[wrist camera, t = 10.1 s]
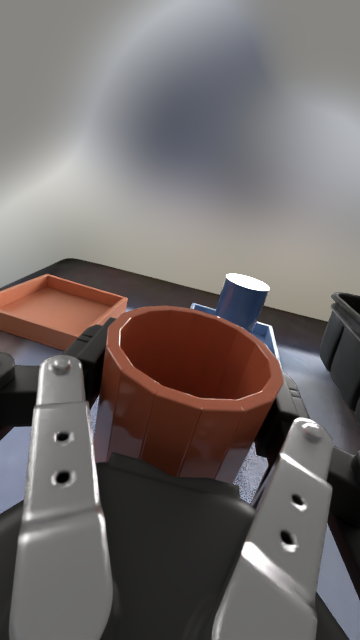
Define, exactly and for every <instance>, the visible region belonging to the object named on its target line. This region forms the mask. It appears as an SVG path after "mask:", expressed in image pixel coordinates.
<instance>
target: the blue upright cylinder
mask: <svg viewBox="0 0 360 640" xmlns="http://www.w3.org/2000/svg"><path fill="white" fill-rule="evenodd" d="M269 290H270V288H269V286H268V285H266V284H265V283H263V282H261V281H259V280H257V279H254V278H251V277H248V276H244V275H239V274H227V275H226V277H225V281H224V284H223V287H222V290H221V294H220V296H219V300H218V303H217V306H216V309H215V312H214V315H215V316H218V317H221V318H223V319H225V320H227V321H229V322H231V323H234V324H236V325H238V326H240V327H242V328H244V329H245V330H247V331H248V332H249V333H251V334H252V333H253V331H254V328H255V326H256V323H257V321H258V318H259V315H260V313H261V310H262V308H263V305H264V303H265V300H266V298H267V295H268V293H269Z"/></svg>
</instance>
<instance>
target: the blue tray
mask: <svg viewBox="0 0 360 640" xmlns="http://www.w3.org/2000/svg"><path fill="white" fill-rule="evenodd" d="M190 309H195V310H198V311H202V312H205V313H209V314H212V315H214V312H215V309H212V308H209V307H205V306H202V305H199V304H195V303H192V305H191V307H190ZM252 335H254V336H255V337H256V338H258V339H259V340H260V341H262V342H263V343H264V344H265V345H266V346H267V347H268V348H269V350H270V351H271V352H272V353H273V354H274V356H275V357H276V358H277V359H278V361H279V362H280V365H281V361H280V357H279V353H278V349H277V345H276V341H275V337H274V333H273V329H272V326H270V325H267V324H264V323H260V322H257V323H256V326H255V328H254V331H253V333H252ZM281 368H282V365H281ZM282 371H283V369H282Z"/></svg>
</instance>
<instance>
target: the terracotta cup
mask: <svg viewBox="0 0 360 640" xmlns="http://www.w3.org/2000/svg"><path fill="white" fill-rule="evenodd" d="M283 384H284V379H283V375H282V371H281V366H280V362H279V361H278V359H277V358H276V357H275V356H274V354H273V353H272V352H271V351H270V350H269V348H268V347H267V346H266V345H265V344H264V343H263V342H262V341H260V340H259V339H258V338H256V337H255V336H254V335H252V334H251V333H249V332H248V331H247V330H245V329H244V328H242V327H240V326H238V325H236V324H234V323H231V322H229V321H227V320H225V319H223V318H221V317H218V316H215V315H212V314H209V313H205V312H202V311H198V310H195V309H190V308H182V307H175V306H150V307H141V308H138V309H135V310H132V311H129V312H126V313H123V314H121V315H120V316H119V317H118V318H117V319H116V320H115V321H114V322H113V323H112V324H111V325H110V326H109V327H108V329H107V337H106V345H105V353H104V361H103V369H102V377H101V385H100V393H99V401H98V409H97V417H96V425H95V433H94V441H93V443H94V452H95V460H96V463H99V462H108V461H109V458H110V456H111V453H112V452H115V453H118V454H122V455H126V456H130V457H133V458H137V459H141V460H144V461H146V462H147V463H149V464H151V465H153V466H155V467H157V468H158V469H160V470H162V471H164V472H166V473H167V474H169V475H171V476H174V477H208V478H211V479H215V480H219V481H223V482H226V483H230V484H233V483H234V481H235V479H236V477H237V475H238V473H239V471H240V469H241V467H242V465H243V463H244V461H245V459H246V457H247V455H248V454H249V452H250V450H251V448H252V446H253V444H254V442H255V440H256V438H257V436H258V434H259V432H260V430H261V428H262V426H263V424H264V422H265V420H266V418H267V416H268V414H269V412H270V410H271V408H272V406H273V404H274V402H275V400H276V398H277V396H278V394H279V392H280V390H281V388H282V386H283Z"/></svg>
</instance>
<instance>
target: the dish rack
mask: <svg viewBox="0 0 360 640" xmlns="http://www.w3.org/2000/svg"><path fill="white" fill-rule="evenodd" d="M331 297H332V299H333V300H334V301H335V303H333V304H331V309H332V313H331V316H330V319H329V321H328V324H327V327H326V330H325V333H324V336H323V338H322V342H321V346H320V358H321V360H322V362H323V363H324V365H325V367H326V369H327V370H328V371H329V372H331V378H332V379H333V381H334V383H335V384H336V386H337V388H338V390H339V391H340V393H341V395H342V397H343V398H344V400H345V402H346V404H347V405H348V407H349V409H351V410H352V411H355V418H356V421H357V423H358V425H359V426H360V296H357V295H353V294H349V293H342V292H336V293H333V294H332V295H331Z"/></svg>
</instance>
